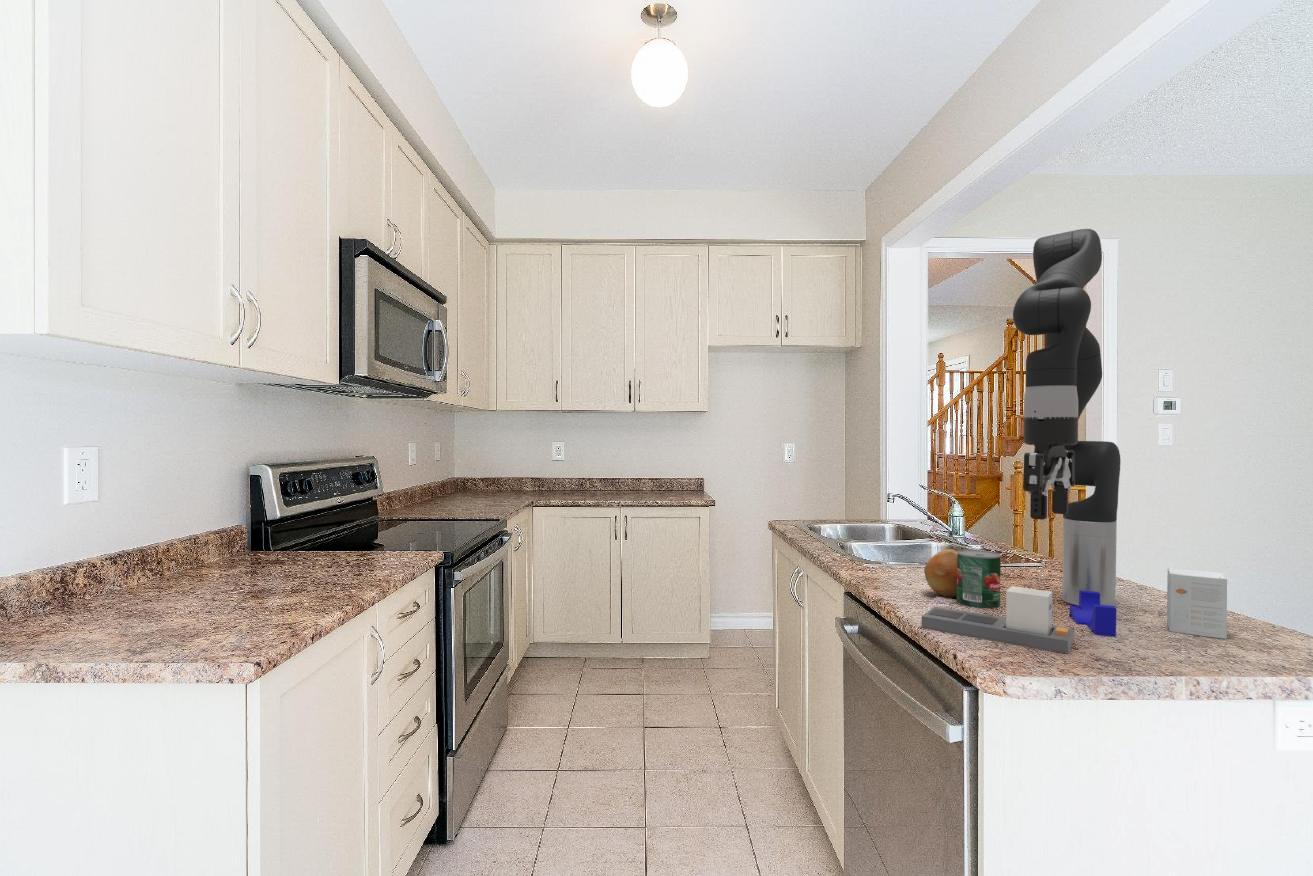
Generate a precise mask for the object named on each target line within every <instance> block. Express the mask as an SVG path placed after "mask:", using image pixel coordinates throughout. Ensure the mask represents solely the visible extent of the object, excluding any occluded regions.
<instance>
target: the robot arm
mask: <svg viewBox="0 0 1313 876" xmlns="http://www.w3.org/2000/svg"><path fill="white" fill-rule="evenodd" d="M1098 234H1099V233H1097V231H1095V230H1094V229H1091V228H1080V229H1075V230H1069V231H1065V232H1060V233H1056V234H1051V235H1047V236H1041V237H1039V238H1038V239H1036V240H1035V242H1034V243H1033V251H1032V257H1033V258H1032V260H1033V262H1032V263H1033V267H1034V274H1035V279H1036V283H1035V284H1033V285H1032V286H1030V287H1028V288H1026V289H1025V290H1024V291H1023V292H1022V293H1021V294H1020V295H1019V297H1018V298H1017V300H1016V302H1015V303H1014V307H1013V311H1012V321H1013V323H1014V326H1015V328H1016V329H1017V330H1018V331H1019V332H1020V333H1021V334H1023V335H1027V336H1041V335H1044V345H1045V348H1041V349H1040V348H1039V349H1037V350H1033V351H1031V352H1029V353H1028V354H1027V356H1026V361H1025V392H1024V398H1023V443H1024V444H1025V445H1028V446H1034V450H1033V452H1025V453H1024V455H1023V476H1022V477H1023V478H1022V479H1023V480H1022V490H1023V491H1024V492H1027V494H1028V495H1030V502H1029V503H1030V505H1029V506H1030V511H1029V513H1030V516H1029V517H1030V518H1031V519H1034V520H1043V521H1044V520H1046V519H1048V492H1049V488H1050V487H1051V489H1052V491H1051V512H1052V513H1053V514H1054V515H1055V514H1056V515H1057V514H1058V515H1062V517H1063V521H1062V525H1063V527H1062V529H1063V530H1062V531H1063V533H1062V538H1063V539H1062V581H1061V583H1062V585H1061V586H1062V587H1061V589H1062V590H1061V591H1062V592H1061V594H1062V595H1061V596H1062V597H1061V599H1062V601H1063V602H1065V603H1068V604H1071V605H1073V606H1079V590H1082V591H1095V592H1099V593H1100V605H1108V606H1114V607H1116V595H1117V594H1116V591H1117V590H1116V588H1117V586H1116V585H1117V538H1118V537H1117V536H1118V535H1117V533H1118V532H1117V527H1118V526H1117V524H1118V523H1117V519H1118V518H1117V517H1118V515H1117V514H1118V508H1119V506H1118V505H1119V489H1120V488H1119V485H1120V476H1121V453H1120V450H1119V447H1118V445H1117V444H1116V443H1115V442H1113V441H1103V440H1102V441H1101V440H1100V441H1099V440H1098V441H1097V440H1079V419H1080V417H1081V415H1082V413H1083V411H1084V409H1085V408H1086V406H1087V404H1088V403H1089V402H1090V400H1091V399H1092V397H1093V396H1094V394H1095V393H1096V391H1097V389H1098V388H1099V386H1100V384H1101V382H1102V378H1103V366H1102V356H1101V347H1100V344H1099V342H1098V340H1097V338H1096V337H1095V335H1094V334H1093V333H1092V332H1091V331H1090V330H1089V329H1088V328H1087V323H1088V321H1089V319H1090V314H1091V311H1092V301H1091V297H1090V295H1089V294H1088V292H1087V291H1086V290H1085V289H1084V288H1085V287H1086V285H1087V284H1088V283H1090V281H1092V279H1093V278H1094V277H1096V276H1097V274H1098V272H1099V271H1100V268H1101V266H1102V261H1103V253H1102V251H1103V249H1102V244H1101V243H1102V242H1101V239H1100V236H1099V235H1098ZM1075 486H1083V487H1084V486H1085V487H1094V492H1093V494H1092V495H1090V496H1087V498H1084V499H1081V500H1077V501H1073V502H1069V492H1070V491H1071V488H1072V487H1075Z"/></svg>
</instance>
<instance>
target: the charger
mask: <svg viewBox="0 0 1313 876" xmlns="http://www.w3.org/2000/svg"><path fill="white" fill-rule="evenodd" d="M1005 597H1006V598H1005V599H1006V600H1005V601H1006V602H1005V603H1006V604H1005V605H1006V606H1005V607H1006V609H1005V618H1006V628H1008V629H1014V630H1020V631H1026V632H1032V633H1038V634H1044V635H1051V633H1052V625H1053V591H1049V590H1042V589H1036V588H1035V589H1034V588H1028V587H1020V586H1013V585H1011V586H1010V587H1009V588H1008V589H1007V590H1006V593H1005Z"/></svg>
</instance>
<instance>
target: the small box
mask: <svg viewBox="0 0 1313 876" xmlns="http://www.w3.org/2000/svg"><path fill="white" fill-rule="evenodd" d="M1166 577H1167V581H1166V582H1167V584H1166V585H1167V587H1166V588H1167V591H1166V596H1167V597H1166V616H1167V617H1166V622H1167V623H1166V624H1167V629H1168V631H1169V632H1171V633H1176V634H1177V633H1178V634H1184V635H1186V634H1187V635H1193V636H1201V637H1207V638H1215V639H1223V640H1227V638H1228V628H1227V627H1228V626H1227V625H1228V623H1227V622H1228V617H1227V616H1228V614H1227V613H1228V580H1227V578H1226V576H1225V575H1224V573H1222V572H1215V571H1207V570H1206V571H1205V570H1204V571H1203V570H1194V569H1193V570H1192V569H1185V568H1184V569H1181V568H1171V567H1168V568H1167V576H1166Z"/></svg>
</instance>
